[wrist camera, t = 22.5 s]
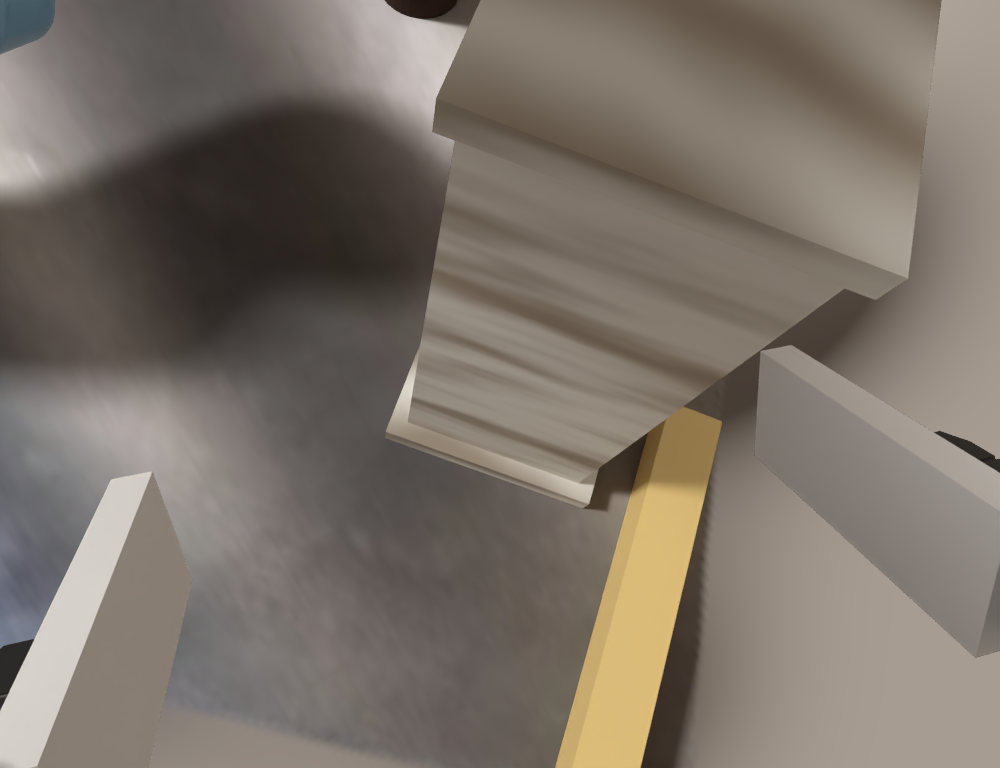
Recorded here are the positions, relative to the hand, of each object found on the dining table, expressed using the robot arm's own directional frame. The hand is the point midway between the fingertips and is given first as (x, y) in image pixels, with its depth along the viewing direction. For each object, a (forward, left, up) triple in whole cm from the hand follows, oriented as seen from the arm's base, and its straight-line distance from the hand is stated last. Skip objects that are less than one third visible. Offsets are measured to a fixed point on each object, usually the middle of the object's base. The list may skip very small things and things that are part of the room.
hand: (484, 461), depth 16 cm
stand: (+10, +8, -29) cm, 31 cm away
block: (+12, -7, -29) cm, 32 cm away
